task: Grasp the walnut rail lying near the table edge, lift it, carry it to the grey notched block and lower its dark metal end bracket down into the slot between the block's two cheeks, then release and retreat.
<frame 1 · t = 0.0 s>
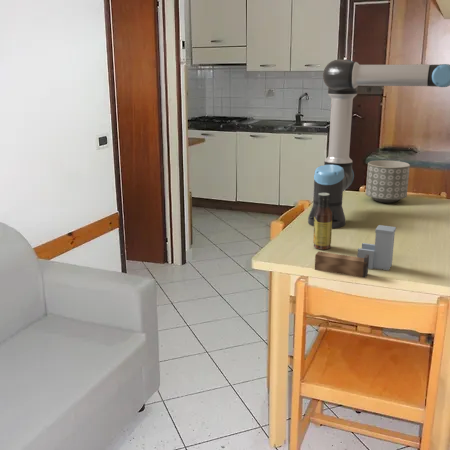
grey notched block: (382, 266, 171), on the table
sauce bottle: (321, 248, 190), on the table
planter: (385, 201, 256), on the table
rail: (340, 271, 167), on the table
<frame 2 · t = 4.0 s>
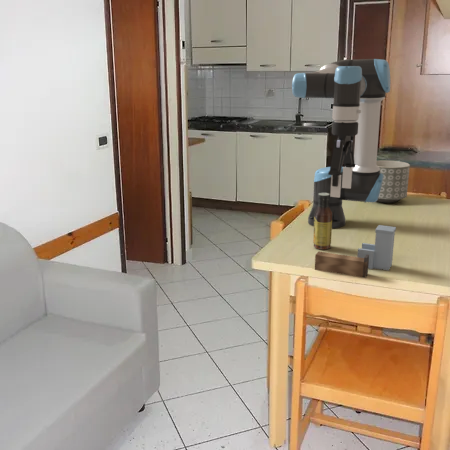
hand: (340, 192, 161), 25 cm above the table, fingers open, 13 cm apart
nothing on the table moved.
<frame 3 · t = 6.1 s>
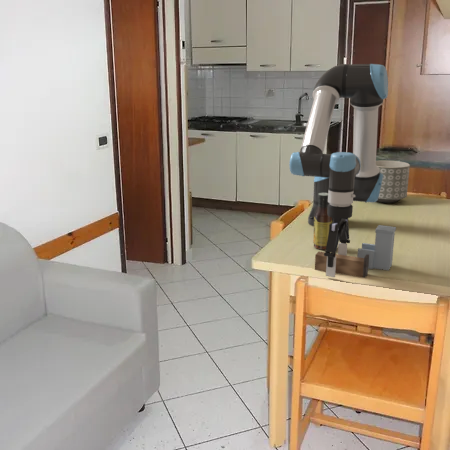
hand: (336, 269, 168), 1 cm above the table, fingers open, 13 cm apart
nothing on the table moved.
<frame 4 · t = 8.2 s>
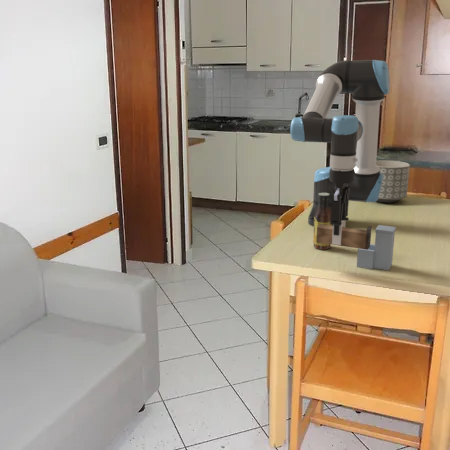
hand: (338, 242, 166), 9 cm above the table, fingers closed on rail, 3 cm apart
rail: (342, 244, 165), point 9 cm above the table, touching gripper
everything else where it was.
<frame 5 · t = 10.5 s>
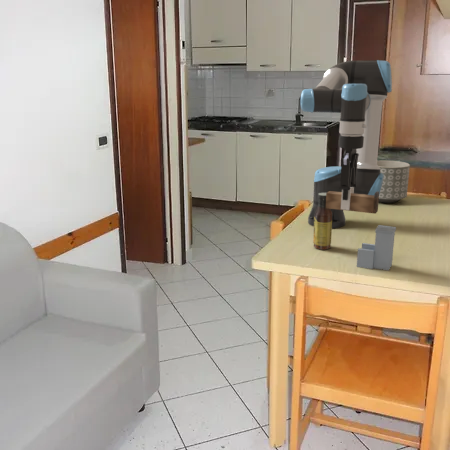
hand: (346, 207, 171), 18 cm above the table, fingers closed on rail, 3 cm apart
rail: (351, 209, 171), point 18 cm above the table, touching gripper
everything else where it was.
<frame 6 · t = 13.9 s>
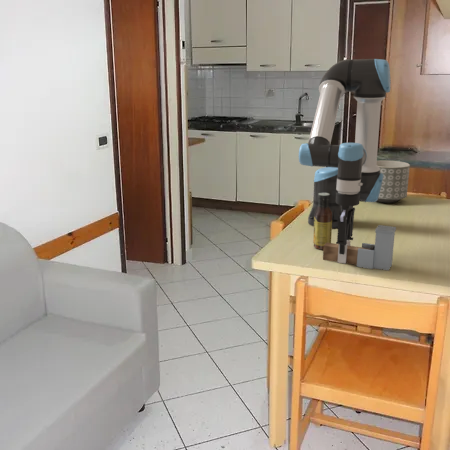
hand: (343, 260, 177), 0 cm above the table, fingers closed on rail, 4 cm apart
rail: (347, 261, 176), on the table, touching gripper
everything else where it was.
when the fingers open (0 cm above the table, at t = 14.0 s): rail stays where it is, on the table.
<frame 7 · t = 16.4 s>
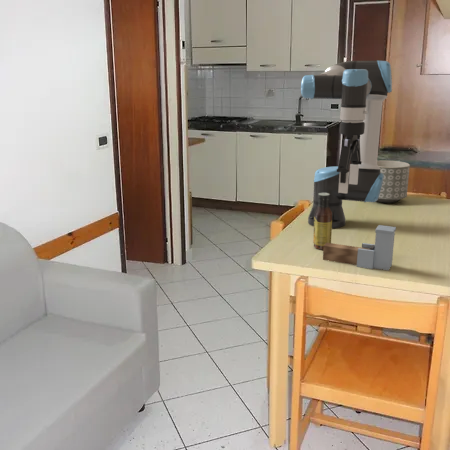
hand: (348, 188, 170), 25 cm above the table, fingers open, 13 cm apart
rail: (347, 261, 176), on the table
everything else where it was.
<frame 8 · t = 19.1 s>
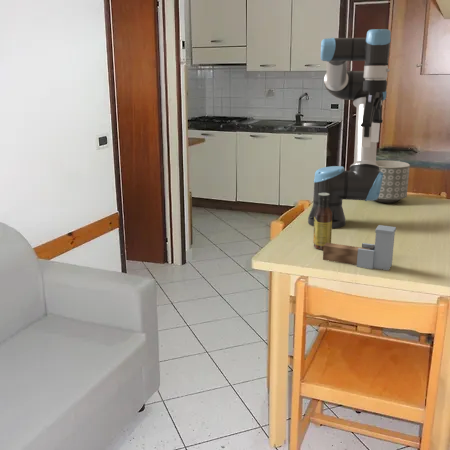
hand: (370, 144, 180), 37 cm above the table, fingers open, 13 cm apart
nothing on the table moved.
at the end: rail 0.3 cm from the target spot on the table beside the grey notched block, on the table; rail tilted 0°; the gripper is holding nothing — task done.
